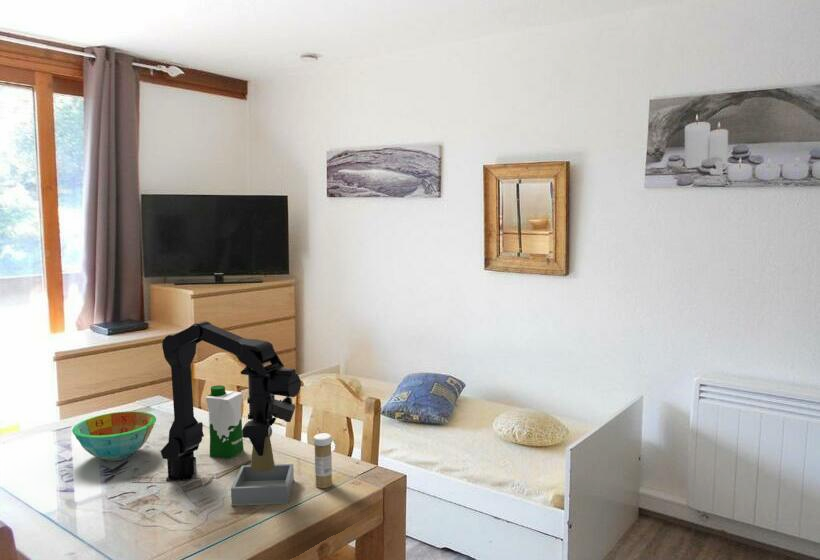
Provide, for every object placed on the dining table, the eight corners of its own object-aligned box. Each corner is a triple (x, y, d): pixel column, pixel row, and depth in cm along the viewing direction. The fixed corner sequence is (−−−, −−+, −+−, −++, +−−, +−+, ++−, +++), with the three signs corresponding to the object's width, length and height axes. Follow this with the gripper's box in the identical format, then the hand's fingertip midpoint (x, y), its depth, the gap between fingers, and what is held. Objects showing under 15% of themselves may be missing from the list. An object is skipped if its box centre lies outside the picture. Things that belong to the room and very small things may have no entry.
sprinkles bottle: (329, 480, 170) (328, 431, 168) (334, 486, 166) (333, 437, 164) (312, 483, 168) (311, 434, 166) (318, 490, 164) (316, 440, 162)
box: (231, 506, 155) (230, 488, 155) (242, 481, 169) (241, 465, 168) (287, 503, 156) (287, 486, 156) (293, 479, 170) (293, 463, 169)
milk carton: (222, 446, 194) (220, 382, 191) (248, 449, 191) (245, 385, 189) (204, 457, 186) (201, 390, 183) (231, 460, 183) (228, 393, 180)
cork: (268, 472, 158) (267, 430, 157) (246, 470, 160) (244, 428, 158) (278, 463, 164) (277, 422, 163) (256, 461, 165) (255, 420, 164)
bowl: (56, 464, 181) (53, 430, 180) (118, 437, 201) (116, 407, 200) (115, 476, 173) (113, 441, 171) (174, 447, 193) (172, 415, 192)
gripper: (288, 403, 151) (290, 466, 153) (296, 381, 169) (297, 437, 171) (240, 404, 150) (243, 467, 152) (254, 382, 168) (256, 438, 170)
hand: (262, 451), depth 161 cm, fingers closed on cork, 4 cm apart
